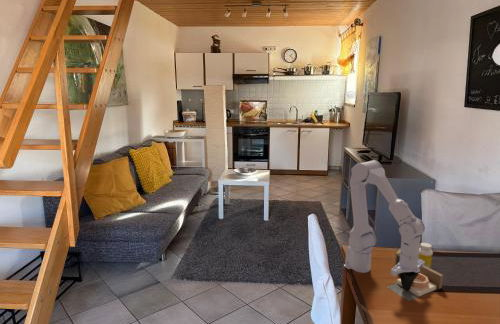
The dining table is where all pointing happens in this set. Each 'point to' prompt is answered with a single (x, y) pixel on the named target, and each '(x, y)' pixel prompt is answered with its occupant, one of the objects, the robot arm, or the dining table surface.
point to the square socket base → (420, 285)
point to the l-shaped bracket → (432, 277)
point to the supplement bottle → (426, 254)
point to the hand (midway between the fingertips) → (405, 288)
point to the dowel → (397, 258)
